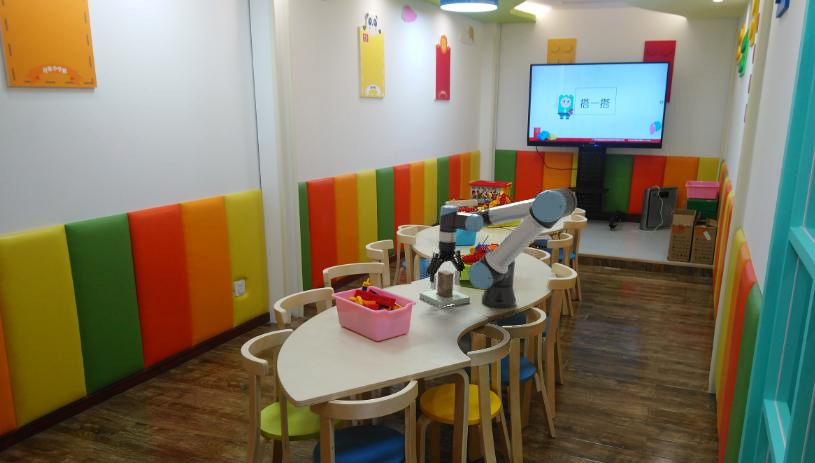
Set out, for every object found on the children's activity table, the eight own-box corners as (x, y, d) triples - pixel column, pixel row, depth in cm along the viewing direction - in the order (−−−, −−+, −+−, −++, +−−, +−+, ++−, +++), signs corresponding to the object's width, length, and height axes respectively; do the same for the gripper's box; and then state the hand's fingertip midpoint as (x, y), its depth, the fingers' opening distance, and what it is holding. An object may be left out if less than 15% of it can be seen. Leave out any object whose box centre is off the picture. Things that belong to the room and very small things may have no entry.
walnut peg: (452, 301, 258) (453, 273, 255) (445, 302, 256) (446, 274, 253) (443, 297, 263) (445, 270, 260) (436, 299, 260) (438, 271, 258)
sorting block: (469, 302, 257) (469, 297, 257) (441, 308, 248) (441, 302, 248) (447, 292, 270) (447, 287, 269) (419, 298, 261) (419, 292, 260)
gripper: (463, 236, 264) (460, 280, 268) (419, 241, 249) (417, 288, 254) (474, 239, 258) (471, 285, 262) (430, 245, 243) (428, 293, 248)
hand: (445, 286), depth 258 cm, fingers open, 13 cm apart
